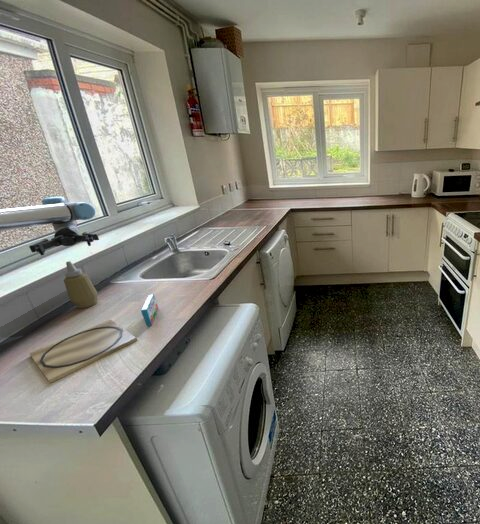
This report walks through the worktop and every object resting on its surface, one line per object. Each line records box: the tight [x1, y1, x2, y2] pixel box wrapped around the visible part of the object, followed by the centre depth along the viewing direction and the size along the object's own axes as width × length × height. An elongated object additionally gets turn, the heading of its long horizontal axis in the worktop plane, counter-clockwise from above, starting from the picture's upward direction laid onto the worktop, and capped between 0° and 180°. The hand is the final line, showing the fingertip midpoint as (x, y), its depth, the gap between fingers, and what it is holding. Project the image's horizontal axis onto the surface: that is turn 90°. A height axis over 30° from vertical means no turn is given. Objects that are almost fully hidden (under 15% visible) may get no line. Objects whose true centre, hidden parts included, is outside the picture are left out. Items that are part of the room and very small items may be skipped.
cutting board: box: [29, 318, 138, 384], centre depth 86 cm, size 20×20×1 cm
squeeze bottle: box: [63, 260, 98, 309], centre depth 107 cm, size 8×8×18 cm
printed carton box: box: [140, 293, 160, 327], centre depth 99 cm, size 12×2×6 cm, turn 23°
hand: (65, 247), depth 110 cm, fingers open, 13 cm apart
